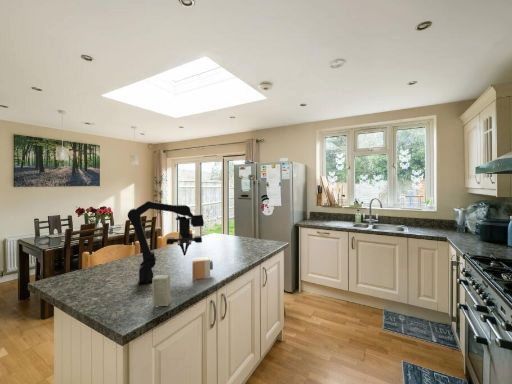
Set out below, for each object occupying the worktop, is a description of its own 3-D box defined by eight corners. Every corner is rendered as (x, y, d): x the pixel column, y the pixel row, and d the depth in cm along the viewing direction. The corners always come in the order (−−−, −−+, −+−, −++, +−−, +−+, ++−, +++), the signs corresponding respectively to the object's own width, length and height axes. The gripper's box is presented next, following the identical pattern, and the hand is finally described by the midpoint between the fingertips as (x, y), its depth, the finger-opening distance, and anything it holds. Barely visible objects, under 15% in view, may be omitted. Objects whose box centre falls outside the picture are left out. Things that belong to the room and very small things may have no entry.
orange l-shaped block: (192, 281, 129) (192, 263, 129) (192, 278, 133) (192, 261, 132) (205, 280, 131) (205, 262, 131) (204, 277, 134) (204, 260, 134)
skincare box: (170, 302, 106) (170, 274, 106) (167, 307, 102) (167, 278, 102) (156, 302, 106) (155, 274, 106) (152, 307, 102) (151, 278, 101)
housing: (193, 279, 133) (193, 261, 133) (192, 275, 139) (192, 258, 139) (212, 277, 136) (212, 259, 136) (211, 273, 142) (211, 256, 142)
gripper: (165, 230, 127) (165, 260, 127) (202, 229, 132) (202, 258, 132) (167, 227, 137) (167, 255, 138) (201, 226, 142) (201, 252, 143)
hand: (184, 255), depth 137 cm, fingers closed
